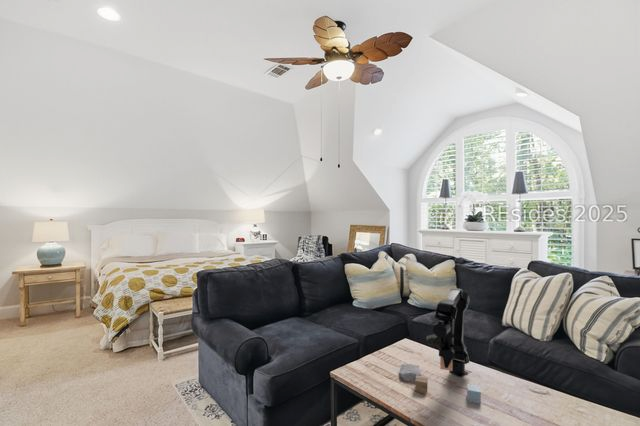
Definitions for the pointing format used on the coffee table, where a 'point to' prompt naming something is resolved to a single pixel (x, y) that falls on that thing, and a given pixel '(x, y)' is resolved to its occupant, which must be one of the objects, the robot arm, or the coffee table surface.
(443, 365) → the terracotta block
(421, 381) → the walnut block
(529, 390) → the coffee table surface
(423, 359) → the coffee table surface
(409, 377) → the stone block
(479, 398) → the slate blue block
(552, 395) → the coffee table surface
